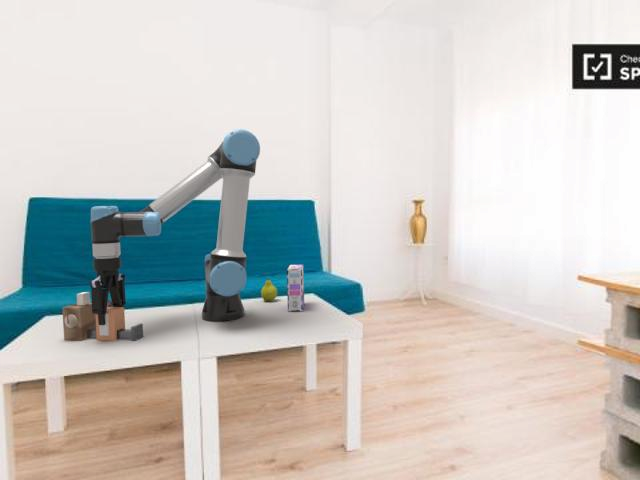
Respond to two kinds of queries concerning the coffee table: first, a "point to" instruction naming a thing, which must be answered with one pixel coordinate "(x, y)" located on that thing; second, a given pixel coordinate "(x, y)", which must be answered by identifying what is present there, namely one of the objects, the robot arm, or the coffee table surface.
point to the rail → (122, 333)
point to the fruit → (268, 291)
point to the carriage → (112, 323)
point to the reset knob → (83, 298)
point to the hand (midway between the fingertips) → (111, 332)
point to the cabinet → (78, 321)
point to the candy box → (295, 287)
